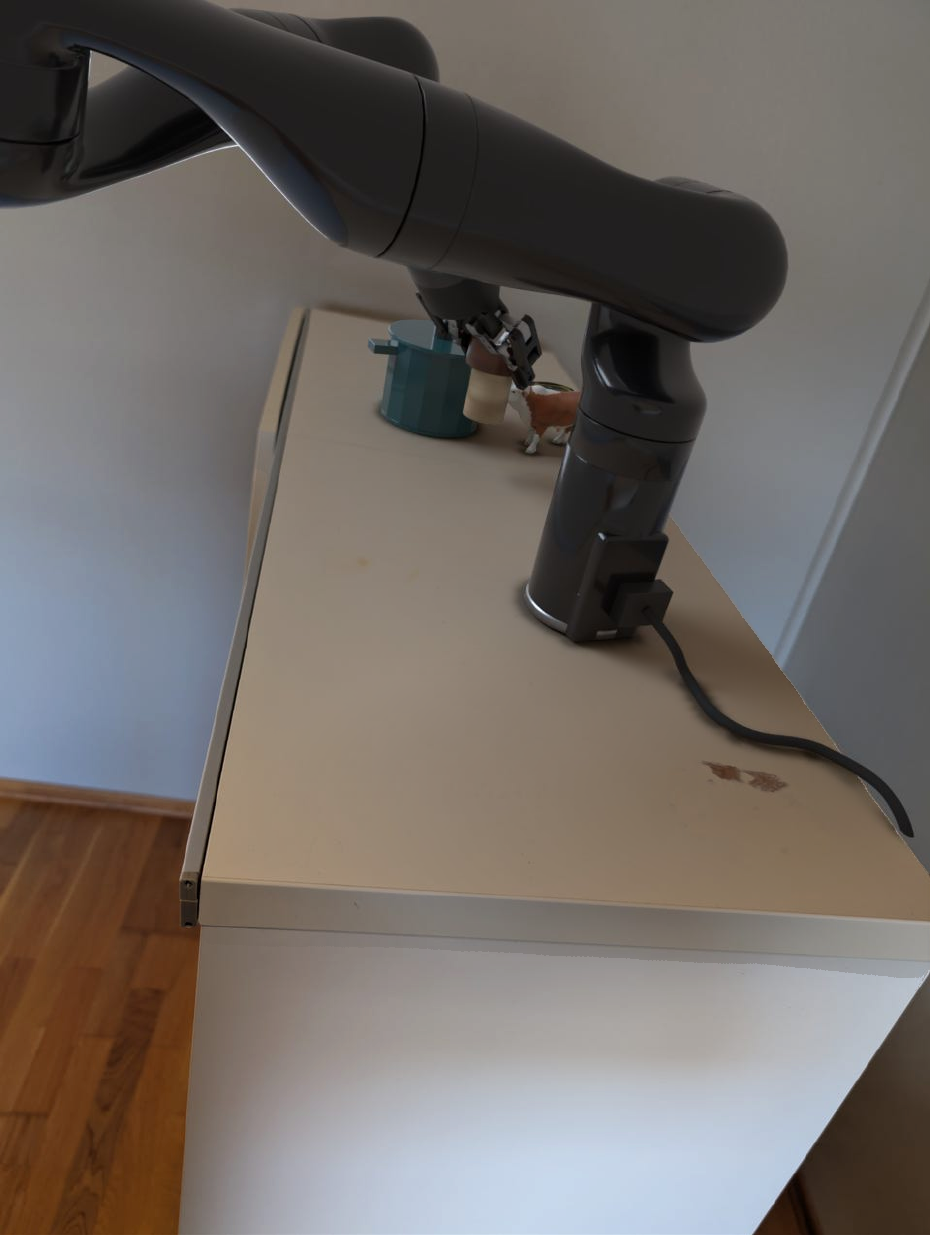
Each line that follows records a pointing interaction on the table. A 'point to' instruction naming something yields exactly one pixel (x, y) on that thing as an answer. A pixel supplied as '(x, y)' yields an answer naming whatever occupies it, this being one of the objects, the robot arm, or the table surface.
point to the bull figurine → (544, 411)
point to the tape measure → (552, 386)
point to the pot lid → (425, 338)
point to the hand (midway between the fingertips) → (502, 372)
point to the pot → (424, 391)
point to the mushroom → (486, 383)
